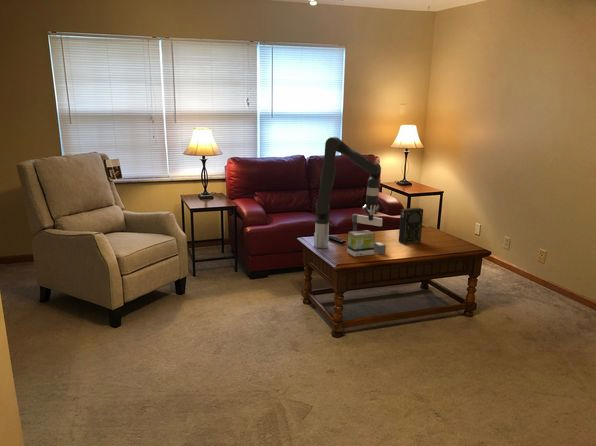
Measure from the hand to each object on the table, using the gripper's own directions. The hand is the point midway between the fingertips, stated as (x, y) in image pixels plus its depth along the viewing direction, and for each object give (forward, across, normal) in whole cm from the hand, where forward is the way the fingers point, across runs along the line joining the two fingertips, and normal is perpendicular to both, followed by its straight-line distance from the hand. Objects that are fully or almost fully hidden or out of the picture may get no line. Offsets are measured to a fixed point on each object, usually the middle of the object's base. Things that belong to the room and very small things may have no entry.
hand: (370, 220), depth 303 cm
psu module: (+22, +8, -1) cm, 24 cm away
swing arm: (+3, 0, +5) cm, 6 cm away
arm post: (+23, -5, +11) cm, 26 cm away
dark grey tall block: (+22, +40, +15) cm, 48 cm away
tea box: (+23, -6, 0) cm, 24 cm away
